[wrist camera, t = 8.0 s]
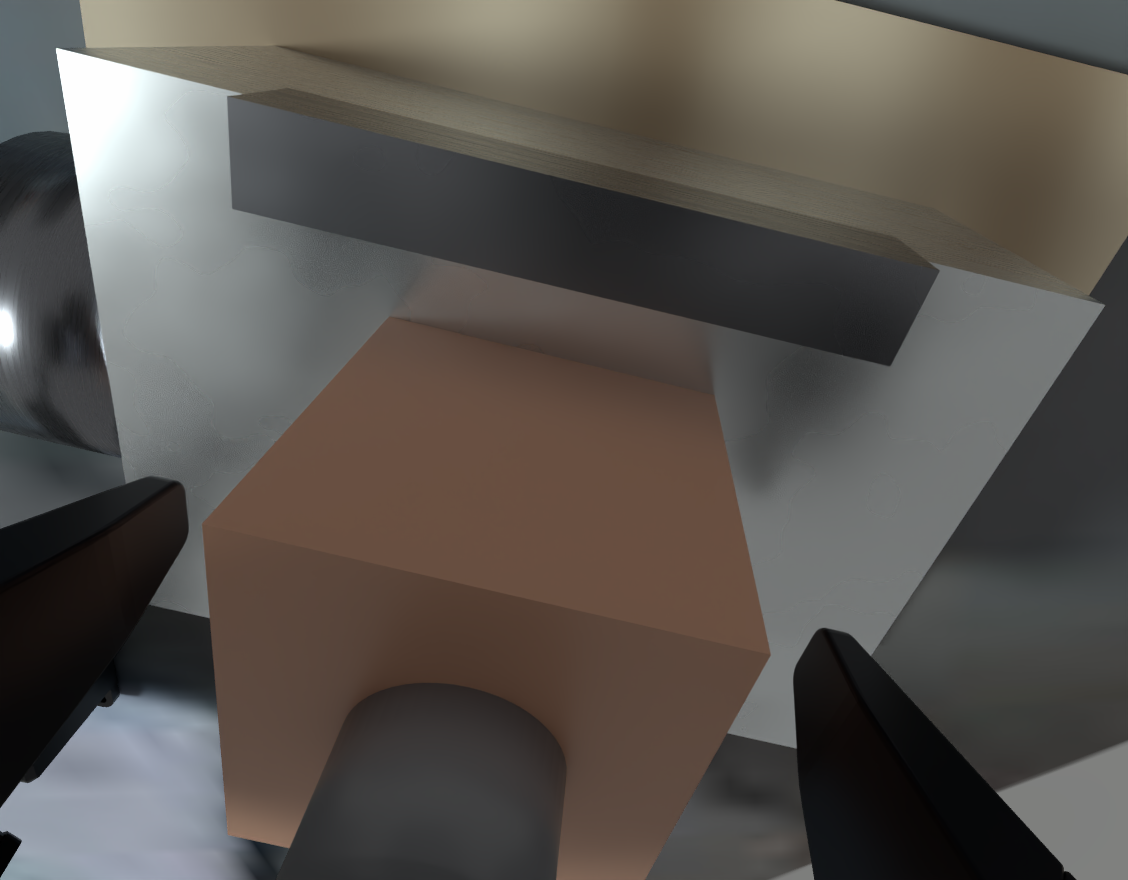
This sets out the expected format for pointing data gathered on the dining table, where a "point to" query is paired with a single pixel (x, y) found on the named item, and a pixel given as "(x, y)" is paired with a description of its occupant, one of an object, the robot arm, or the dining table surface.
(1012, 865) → the robot arm
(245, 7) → the mounting board
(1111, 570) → the dining table surface
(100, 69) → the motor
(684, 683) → the brown block with knob
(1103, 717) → the dining table surface
